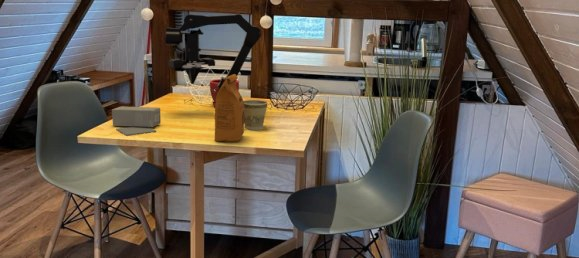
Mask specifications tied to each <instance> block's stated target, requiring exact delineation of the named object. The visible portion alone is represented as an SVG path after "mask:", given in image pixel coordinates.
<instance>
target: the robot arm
mask: <svg viewBox="0 0 579 258" xmlns="http://www.w3.org/2000/svg"><path fill="white" fill-rule="evenodd" d="M234 24H235V25H238V26H239V27H240V29H242V30H243V32H245V36H244V39H243V42H242V46H241V47H240V49H239V52H238V54H237V56H236V57H235V59H234V62H233V63H232V65H231V68H230V70H229V71H228V72H227V75H226V76H225V77H224V76H221V78H220V79H221V81H220V83H219V84H218V86H217V87H218V91H219V89H220V88H221V86H222V85H223V83H224V82H225V80H226V77H228V76H231V75H233V74H235V75H236V76H237V77H238V75H239V74H240V71H241V69H242V68H243V65H244V63H245V61H246V60H247V57H248V56H249V53H250V52H251V50H252V49H253V47H254V46H255V45H256V44H257V42H258V41H259V40H260V38H261V36H262V31H261V29H260V28H259V27H258V26H256V25H252V24H251V23H250V22H249V21H248V20H246V18H244V17H243V15H242V14H240V13H235V14H218V15H203V14H198V13H190V14H189V13H188V14H186V15H185V17H184V19H183V24H182V25H181V26H180V27H179V28H172V27H166V28H165V29H166V31H165V36H164V38H165V45H166V46H181V44H182V43H184V47H183V49H182V51H180V50H174V59H173V58H172V59H169V60H168V62H167V67H168V68H169V67H170V68H174V69H178V68H179V69H184V71H185V73H186V74H187V77H188V80H189V83H190V84H191V85H195V82H196V80H197V77H198V75H199V74H200V72H201V70H202V69H204V67H203V65H207V66H208V67H216V60H215V59H213V58H209V57H203V58H200V52H201V50H202V49H201V48H200V35H204V31H202V29H201V28H202V27H205V26H213V25H214V26H215V25H234ZM197 28H198V29H197ZM189 29H190V31H189V32H187V31H188V30H189ZM196 29H197V30H196ZM185 31H186V32H185ZM234 82H235V81H234Z"/></svg>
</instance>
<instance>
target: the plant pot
mask: <svg viewBox="0 0 579 258" xmlns="http://www.w3.org/2000/svg"><path fill="white" fill-rule="evenodd" d="M220 81H221V78H220V79H213V80H210V81H209V91H210V97H211V98H212V105H213V106H214V107H215V104H216V97H217V94H218V87H217V86H218V84H219V83H220ZM235 85H236V88H237V90H238V91H239V92H240V81H239V79H236V80H235Z"/></svg>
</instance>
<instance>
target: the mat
mask: <svg viewBox="0 0 579 258" xmlns="http://www.w3.org/2000/svg"><path fill="white" fill-rule="evenodd" d="M115 131H116V132H118V133H120V134H123V135H124V136H127V137H128V136H135V135H136V134H137V135H143V134H144V133H145V134H151V132H153V133H157V130H156V129H153V128H152V127H134V126H127V127H121V128H116V129H115ZM145 134H144V135H145ZM137 135H136V136H137Z"/></svg>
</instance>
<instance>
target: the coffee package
mask: <svg viewBox="0 0 579 258" xmlns="http://www.w3.org/2000/svg"><path fill="white" fill-rule="evenodd" d="M225 77H226V76H225ZM238 79H239V78H238V75H237V76H236V75H235V74H233V75H231V76H228V77H226V80H225V82H224V83H223V85H222V86H221V88H220V89H219V91H218V94H217V97H216V104H215V106H214V141H215V142H237V141H238V142H239V141H240V139H241V138H242V137H243V135H244V133H245V124H244V103H243V101H244V100H243V96H242V95H241V93H240V90H239V91H238V90H237V88H236V85H235V82H234V81H235V80H238Z"/></svg>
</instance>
